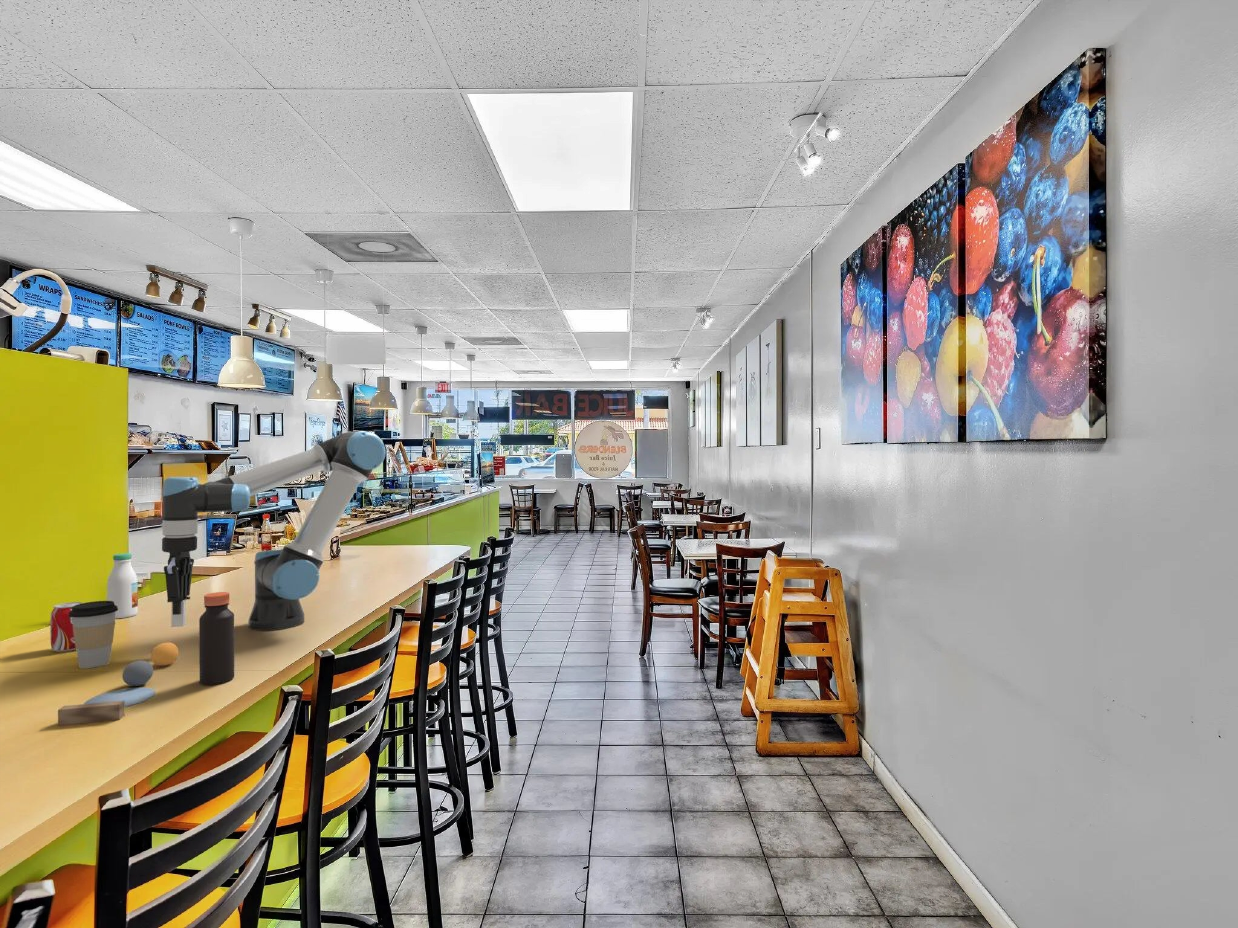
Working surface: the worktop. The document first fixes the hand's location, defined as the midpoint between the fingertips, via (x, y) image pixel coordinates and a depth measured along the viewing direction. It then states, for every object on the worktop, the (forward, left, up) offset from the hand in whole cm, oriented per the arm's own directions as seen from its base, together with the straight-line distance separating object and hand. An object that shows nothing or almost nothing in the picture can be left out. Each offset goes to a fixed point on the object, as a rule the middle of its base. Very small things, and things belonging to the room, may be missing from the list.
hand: (178, 625), depth 161 cm
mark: (0, +31, -7) cm, 32 cm away
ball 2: (0, +9, -5) cm, 10 cm away
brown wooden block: (0, +42, -7) cm, 43 cm away
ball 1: (0, +23, -5) cm, 24 cm away
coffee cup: (+17, +4, -8) cm, 19 cm away
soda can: (+30, -12, -8) cm, 33 cm away
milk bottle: (+33, -48, -8) cm, 58 cm away
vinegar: (-16, +24, -8) cm, 30 cm away
